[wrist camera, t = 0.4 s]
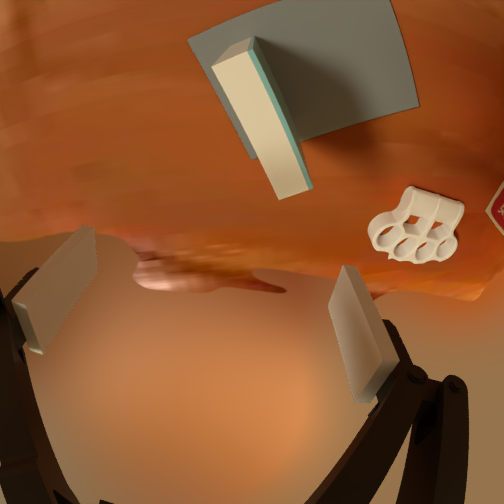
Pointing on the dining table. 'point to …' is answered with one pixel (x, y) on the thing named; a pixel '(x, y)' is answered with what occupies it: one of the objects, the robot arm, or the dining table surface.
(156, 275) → the dining table surface
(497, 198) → the milk carton
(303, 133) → the mat
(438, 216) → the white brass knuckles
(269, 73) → the tile
